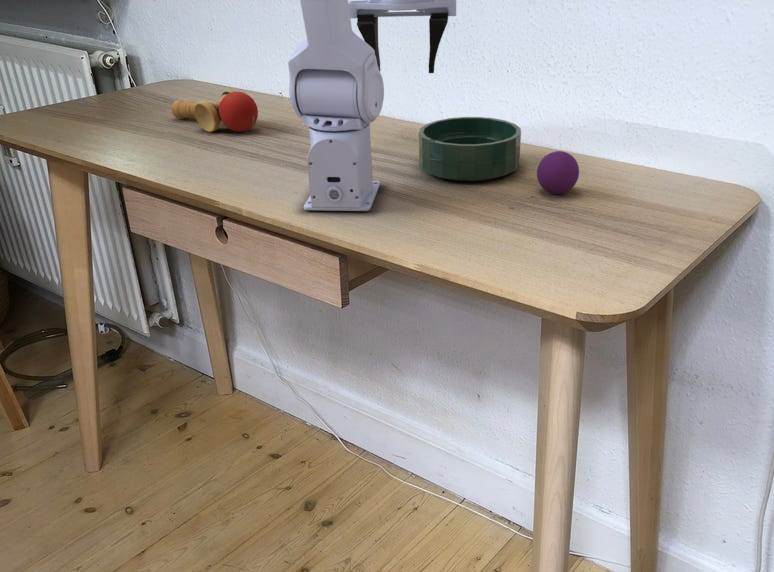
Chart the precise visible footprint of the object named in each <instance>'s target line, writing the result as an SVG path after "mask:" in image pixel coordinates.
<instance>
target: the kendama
mask: <svg viewBox="0 0 774 572" xmlns="http://www.w3.org/2000/svg"><path fill="white" fill-rule="evenodd" d="M257 105H258V104H257V103H256V102H255V99H253V98H252V97H251V96H250V95H249V94H247V93H246V92H243V91H235V90H234V89H227V90H224V91H223V92H222V94H221V96H220V99H219V100H217V101H216V102H213V103H212V102H210V101H208V100H205V99H202V100H199V101H191V100H190V101H189V100H183V99H182V100H181V99H176V100H174V101H173V103H172V104H171V113H172V115H173V116H174V117H175V119H178V120H180V119H181V120H182V119H190V118H195V120H196V121H197V123H198V125H199V126H200V127H201V128H202V129H203V130H205V132H208V133H212V132H215V131H217V130H219V128H220V127H221V122H222V124H223V125H224V126H225V127H226V128H227V129H229V130H231V131H232V132H238V133H241V132H243V133H244V132H246V131H250V130H251V129H253V127H254V126H255V125H256V123H257V120H258V117H259V109H258V106H257Z"/></svg>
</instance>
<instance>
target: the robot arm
mask: <svg viewBox="0 0 774 572" xmlns="http://www.w3.org/2000/svg"><path fill="white" fill-rule="evenodd" d="M299 1H300V7H301V13H302V18H303V23H304V25H303V26H304V29H305V30H304V31H305V37H306V38H305V39H304V40H303V41H302V42H301V43H300V44H299V45H298V46H297V47H296V48H295V49H294V50H293V51H292V53H291V54H290V57H289V59H288V61H287V67H288V75H289V84H288V96H289V101H290V105H291V107H292V109H293V111H294V113H295V115H297V117H298V118H300V119H302V126H303V127H308V135H309V141H310V142H309V143H310V149H309V151H308V154H307V159H306V163H307V173H308V174H307V175H308V183H309V184H308V186H309V194H310V195H309V197H308V198H307V199H306V201H305V203H304V205H303V210H304V211H323V212H324V211H327V212H328V211H329V212H330V211H331V212H335V211H336V212H369V211H370V210H371V209H372V206H373V204H374V201H375V199H376V196H377V194H378V191H379V188H380V186H381V181H380V180H374V179H373V178H374V177H373V160H372V159H373V158H372V157H373V156H372V141H371V140H372V139H371V123H374V122H375V121H376V120H377V118H378V117H379V116H380V114H381V111H382V109H383V106H384V105H383V104H384V100H385V97H384V96H385V85H384V79H383V75H382V73H381V59H380V58H381V56H380V47H379V18H391V17H392V18H394V17H395V18H397V17H429V20H428V28H429V30H428V31H429V33H428V34H429V55H428V74H435V64H436V57H437V53H438V51H439V46H440V43H441V40H442V38H443V35H444V33H445V30H446V27H447V25H448V22H449V17H457V0H350V1H349V0H299ZM352 19H357V20H356V21H357V22H356V26H357V29H358V31H359V33H360V35H361V37H362V38H361V37H360V36H359V35H357V33H355V32H354V31H353V28H352Z"/></svg>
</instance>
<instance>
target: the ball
mask: <svg viewBox="0 0 774 572" xmlns="http://www.w3.org/2000/svg"><path fill="white" fill-rule="evenodd" d="M579 177H580V168H579V163H578V161H577V160H576V158H575V157H574V156H573V155H572V154H570V153H569V152H566V151H563V150H559V151H558V150H556V151H552V152H549V153H548V154H546V155H545V156H543V157H542V159H541V160H540V161H539V163H538V165H537V169H536V178H537V181H538V184H539V185H540V187H541V188H542V189H543V190H544V191H546V192H547V193H550V194H553V195H554V194H555V195H560V194H564V193H567V192H568V191H570V190H571V189H572V188H573V187H574V186H575V185H576V183H577V182H578V179H579Z"/></svg>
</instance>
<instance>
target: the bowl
mask: <svg viewBox="0 0 774 572" xmlns="http://www.w3.org/2000/svg"><path fill="white" fill-rule="evenodd" d="M521 140H522V128H521V127H519V125H517V124H516V123H513V122H511V121H508V120H505V119H499V118H494V117H483V116H459V117H449V118H444V119H443V118H442V119H438V120H434V121H431V122H429V123H426V124H424V125H423V126H422V127H420V128H419V132H418V163H419V164H418V165H419V167H420V169H421V170H422V171H423V172H425V173H427V174H429V175H431V176H434V177H438V178H441V179H444V180H449V181H454V182H455V181H456V182H483V181H489V180H494V179H497V178H499V177H505V176H508V175H509V174H511V173H513V172H515V171H516V170H517V169H518V168H519V167H520V161H521V160H520V158H521Z"/></svg>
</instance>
